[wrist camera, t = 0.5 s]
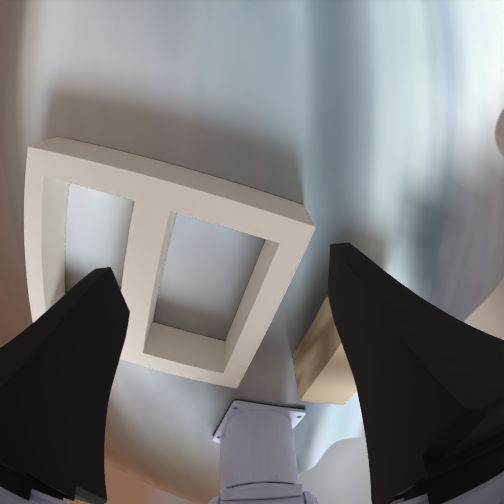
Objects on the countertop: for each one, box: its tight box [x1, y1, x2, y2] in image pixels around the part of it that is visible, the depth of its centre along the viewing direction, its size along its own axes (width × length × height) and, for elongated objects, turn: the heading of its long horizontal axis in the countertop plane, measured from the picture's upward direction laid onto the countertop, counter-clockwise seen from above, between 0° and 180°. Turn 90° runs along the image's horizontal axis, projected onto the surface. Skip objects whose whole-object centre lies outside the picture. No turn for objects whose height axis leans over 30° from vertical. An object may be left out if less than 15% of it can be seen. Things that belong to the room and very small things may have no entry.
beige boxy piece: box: [292, 295, 357, 405], centre depth 22 cm, size 9×4×5 cm, turn 161°
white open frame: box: [24, 137, 316, 389], centre depth 19 cm, size 14×17×4 cm
